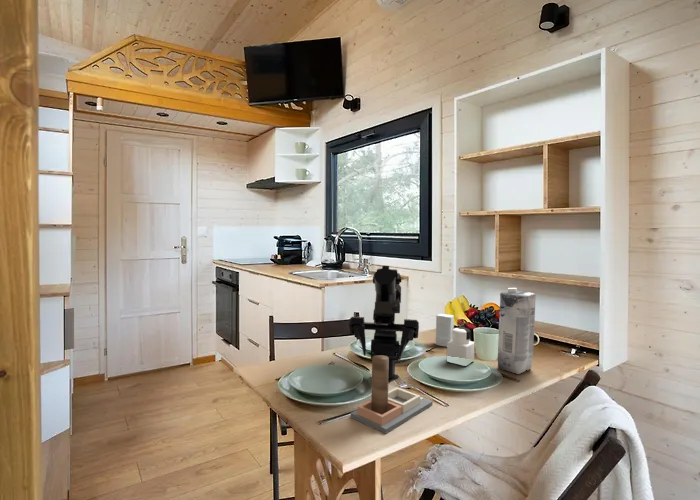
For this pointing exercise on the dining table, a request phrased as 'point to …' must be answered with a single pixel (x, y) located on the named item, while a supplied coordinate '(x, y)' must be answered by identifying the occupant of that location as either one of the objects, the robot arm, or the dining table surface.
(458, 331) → the medicine bottle
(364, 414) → the board
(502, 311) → the juice carton
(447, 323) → the skincare box
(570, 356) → the dining table surface
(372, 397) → the walnut pin
